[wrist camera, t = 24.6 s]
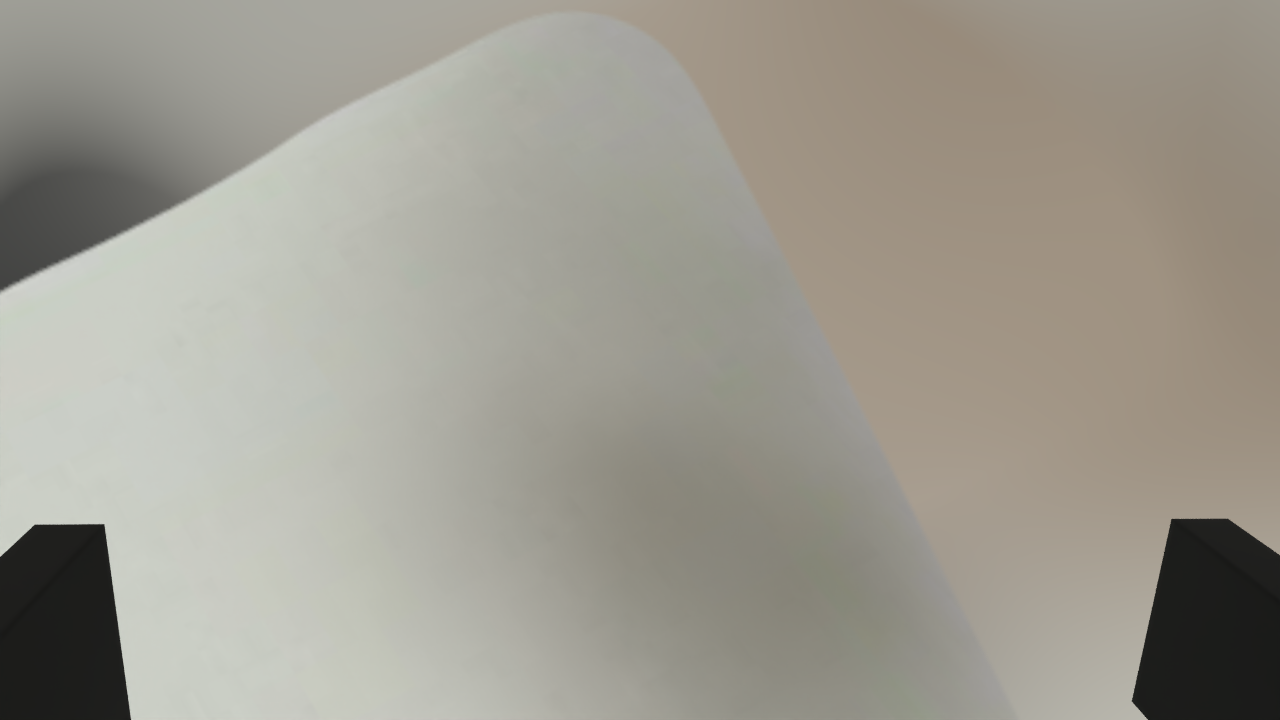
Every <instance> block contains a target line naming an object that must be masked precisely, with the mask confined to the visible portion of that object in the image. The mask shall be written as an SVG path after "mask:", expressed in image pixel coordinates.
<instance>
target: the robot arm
mask: <svg viewBox="0 0 1280 720" xmlns="http://www.w3.org/2000/svg"><path fill="white" fill-rule="evenodd" d="M1132 702H1133V703H1134V704H1135V706H1136V707H1137V708H1138V709H1139V710H1140V711H1141V712H1142V713H1143V715H1144V716H1145V717H1146V718H1147V719H1148V720H1280V555H1279V554H1277V553H1276V552H1274V551H1273V550H1272V549H1270V548H1269V547H1267V546H1266V545H1264V544H1263V543H1262V542H1260V541H1259V540H1257V539H1256V538H1254V537H1253V536H1251V535H1250V534H1249V533H1247V532H1246V531H1244V530H1243V529H1241V528H1240V527H1239V526H1237V525H1236V524H1234V523H1233V522H1232V521H1230V520H1229V519H1171V524H1170V529H1169V534H1168V538H1167V542H1166V547H1165V552H1164V556H1163V561H1162V565H1161V570H1160V574H1159V579H1158V584H1157V588H1156V593H1155V597H1154V602H1153V607H1152V611H1151V616H1150V620H1149V625H1148V630H1147V634H1146V639H1145V643H1144V648H1143V653H1142V657H1141V662H1140V666H1139V671H1138V675H1137V680H1136V685H1135V689H1134V694H1133V698H1132ZM0 720H131V717H130V709H129V702H128V695H127V687H126V680H125V673H124V665H123V658H122V651H121V643H120V636H119V629H118V621H117V614H116V607H115V599H114V592H113V585H112V577H111V570H110V563H109V555H108V548H107V541H106V533H105V526H104V524H79V525H34V526H33V527H32V528H31V529H30V530H29V531H28V532H27V533H26V534H24V535H23V536H22V537H21V538H20V539H19V540H18V541H17V542H16V543H15V544H14V545H13V546H12V547H11V548H9V549H8V550H7V551H6V552H5V553H4V554H3V555H2V556H1V557H0Z"/></svg>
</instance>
